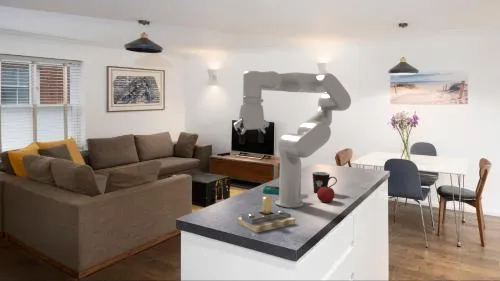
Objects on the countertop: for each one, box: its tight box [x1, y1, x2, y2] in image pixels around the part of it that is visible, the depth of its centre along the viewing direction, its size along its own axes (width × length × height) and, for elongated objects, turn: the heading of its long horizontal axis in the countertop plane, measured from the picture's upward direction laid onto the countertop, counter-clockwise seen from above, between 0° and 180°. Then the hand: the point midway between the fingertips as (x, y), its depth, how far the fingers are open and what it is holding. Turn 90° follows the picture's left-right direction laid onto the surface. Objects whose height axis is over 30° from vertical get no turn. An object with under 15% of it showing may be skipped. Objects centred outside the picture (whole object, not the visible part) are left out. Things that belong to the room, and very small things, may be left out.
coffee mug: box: [312, 171, 338, 194], centre depth 188 cm, size 12×9×10 cm
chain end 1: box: [241, 209, 280, 225], centre depth 138 cm, size 13×7×3 cm, turn 125°
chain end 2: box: [264, 209, 292, 222], centre depth 141 cm, size 13×7×2 cm, turn 125°
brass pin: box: [261, 195, 272, 216], centre depth 139 cm, size 3×3×10 cm
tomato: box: [316, 186, 336, 203], centre depth 173 cm, size 8×8×7 cm
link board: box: [237, 216, 296, 233], centre depth 140 cm, size 18×12×2 cm, turn 125°
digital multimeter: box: [262, 185, 279, 195], centre depth 189 cm, size 7×15×3 cm, turn 80°
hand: (251, 143), depth 154 cm, fingers open, 9 cm apart
